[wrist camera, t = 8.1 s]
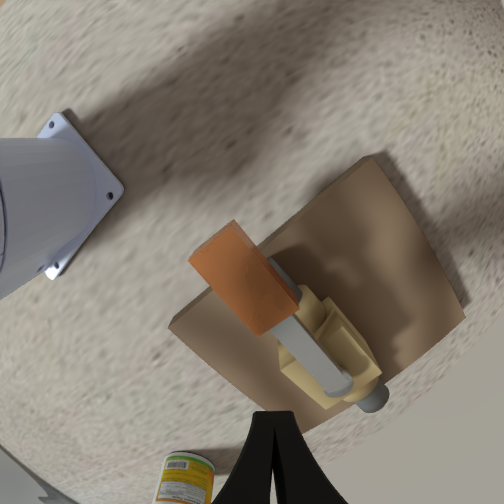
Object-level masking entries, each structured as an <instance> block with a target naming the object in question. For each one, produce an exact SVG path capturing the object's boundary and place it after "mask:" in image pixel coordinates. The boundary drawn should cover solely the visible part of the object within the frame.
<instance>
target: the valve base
mask: <svg viewBox="0 0 504 504" xmlns="http://www.w3.org/2000/svg"><path fill="white" fill-rule="evenodd" d="M257 248H258V249H259V250H260V251H261V253H262V254H263V255H264V256H265V258H266V259H267V260H268V261H269V262H270V264H271V265H272V266H273V267H274V269H275V270H276V271H277V272H278V273H279V275H280V276H281V277H282V278H283V280H284V281H285V282H286V283H287V285H288V286H289V287H290V288H291V289H292V291H293V292H294V293H295V294H296V297H297V301H298V304H299V308H300V309H299V310H298V311H297V312H295V314H296V315H297V316H298V317H299V319H300V320H301V321H302V322H303V323H304V325H305V326H306V327H307V328H308V329H309V331H310V332H311V333H312V334H313V335H314V336H315V338H316V339H317V340H318V341H319V342H320V344H321V345H322V346H323V347H324V348H325V349H326V351H327V352H328V353H329V354H330V355H331V357H332V358H333V359H334V360H335V361H336V362H337V364H338V365H343V366H345V367H347V368H348V369H349V372H350V374H351V377H352V380H353V388H352V390H351V391H350V392H349V393H348V394H346V395H344V396H342V397H339V398H331V397H328V396H326V395H325V394H324V391H323V387H322V386H321V385H320V384H319V383H318V382H317V381H316V380H315V379H314V378H313V376H312V375H311V374H310V373H309V372H308V371H307V370H306V369H305V368H304V367H303V366H302V365H301V364H300V363H299V362H298V361H297V360H296V358H295V357H294V356H293V355H292V354H291V353H290V352H289V351H288V350H287V349H286V348H285V347H284V346H283V345H282V343H281V342H280V341H279V340H278V339H277V338H276V337H275V336H274V335H273V334H272V333H271V331H270V330H268V331H267V332H265V333H264V334H262V335H260V336H259V337H257V336H256V335H255V334H254V333H253V332H252V331H251V330H250V329H249V328H248V327H247V326H246V325H245V324H244V323H243V322H242V320H241V319H240V318H239V317H238V316H237V315H236V314H235V313H234V312H233V311H232V310H231V308H230V307H229V306H228V305H227V304H226V303H225V302H224V301H223V300H222V299H221V297H220V296H219V295H218V294H217V293H216V292H215V291H214V290H213V289H212V287H211V286H209V287H208V288H207V289H206V290H205V291H203V292H202V293H201V294H200V295H199V296H197V297H196V298H195V299H194V300H193V301H192V302H190V303H189V304H188V305H187V306H186V307H184V308H183V309H182V310H181V311H180V312H178V313H177V314H176V315H175V316H174V317H173V319H172V320H171V322H170V324H169V326H168V329H169V330H171V331H172V332H173V333H174V334H175V335H176V336H177V337H178V338H179V339H180V340H181V341H182V342H184V343H185V344H186V345H187V346H188V347H189V348H190V349H191V350H192V351H194V352H195V353H196V354H197V355H198V356H199V357H200V358H201V359H203V360H204V361H205V362H206V363H207V364H208V365H210V366H211V367H212V368H213V369H214V370H215V371H217V372H218V373H219V374H220V375H221V376H223V377H224V378H225V379H226V380H227V381H229V382H230V383H231V384H232V385H234V386H235V387H236V388H237V389H239V390H240V391H241V392H242V393H244V394H245V395H246V396H247V397H249V398H250V399H251V400H253V401H254V402H255V403H256V404H258V405H259V406H260V407H262V408H263V409H264V410H266V411H288V410H291V411H292V412H294V416H295V419H296V422H297V424H298V427H299V429H300V432H301V434H303V433H305V432H307V431H309V430H310V429H312V428H314V427H316V426H318V425H320V424H321V423H323V422H325V421H327V420H328V419H330V418H332V417H334V416H335V415H337V414H339V413H340V412H342V411H344V410H345V409H347V408H349V407H350V406H352V405H353V404H356V405H357V406H358V407H360V408H361V409H362V410H363V411H364V412H366V413H373V412H376V411H378V410H380V409H381V408H382V407H383V406H384V405H385V404H386V403H387V401H388V398H389V390H388V388H387V387H386V386H385V385H384V384H385V383H386V382H388V381H389V380H391V379H392V378H393V377H395V376H396V375H397V374H399V373H400V372H401V371H403V370H404V369H405V368H407V367H408V366H409V365H411V364H412V363H413V362H415V361H416V360H417V359H418V358H420V357H421V356H422V355H423V354H425V353H426V352H427V351H428V350H429V349H431V348H432V347H433V346H434V345H435V344H437V343H438V342H439V341H440V340H441V339H443V338H444V337H445V336H446V335H447V334H448V333H449V332H450V331H452V330H453V329H454V328H455V327H456V326H457V325H458V324H459V323H460V322H461V321H462V320H464V319H465V318H466V317H465V314H464V312H463V310H462V308H461V305H460V303H459V301H458V299H457V297H456V295H455V293H454V291H453V289H452V287H451V285H450V282H449V280H448V279H447V277H446V275H445V273H444V271H443V269H442V267H441V265H440V263H439V261H438V259H437V258H436V256H435V254H434V252H433V250H432V248H431V247H430V245H429V243H428V241H427V240H426V238H425V236H424V234H423V233H422V231H421V229H420V228H419V226H418V224H417V223H416V221H415V219H414V218H413V216H412V215H411V213H410V211H409V210H408V208H407V207H406V205H405V204H404V202H403V200H402V199H401V197H400V196H399V194H398V193H397V191H396V190H395V188H394V187H393V185H392V184H391V182H390V181H389V180H388V178H387V177H386V175H385V174H384V172H383V171H382V170H381V168H380V167H379V165H378V164H377V163H376V161H375V160H374V159H373V157H363V158H361V159H360V160H359V161H358V162H357V163H355V164H354V165H353V166H352V167H351V168H349V169H348V170H347V171H346V172H345V173H344V174H342V175H341V176H340V177H339V178H338V179H336V180H335V181H334V182H333V183H332V184H330V185H329V186H328V187H327V188H326V189H325V190H323V191H322V192H321V193H320V194H319V195H317V196H316V197H315V198H314V199H313V200H311V201H310V202H309V203H308V204H307V205H305V206H304V207H303V208H302V209H301V210H300V211H298V212H297V213H296V214H295V215H294V216H292V217H291V218H290V219H289V220H288V221H286V222H285V223H284V224H283V225H282V226H281V227H279V228H278V229H277V230H276V231H275V232H273V233H272V234H271V235H270V236H269V237H267V238H266V239H265V240H264V241H263V242H262V243H260V244H259V245H258V246H257Z"/></svg>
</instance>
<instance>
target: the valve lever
mask: <svg viewBox="0 0 504 504" xmlns="http://www.w3.org/2000/svg"><path fill="white" fill-rule="evenodd" d="M188 261H189V262H190V264H191V265H192V266H193V267H194V268H195V269H196V271H197V272H198V273H199V274H200V275H201V276H202V277H203V278H204V280H205V281H206V282H207V283H208V284H209V285H210V286H211V287H212V289H213V290H214V291H215V292H216V293H217V294H218V295H219V296H220V297H221V299H222V300H223V301H224V302H225V303H226V304H227V305H228V306H229V307H230V308H231V310H232V311H233V312H234V313H235V314H236V315H237V316H238V317H239V318H240V319H241V320H242V322H243V323H244V324H245V325H246V326H247V327H248V328H249V329H250V330H251V331H252V332H253V333H254V334H255V335H256V336H257V337H259V336H260V335H262V334H264V333H265V332H267V331H268V330H270V331H271V333H272V334H273V335H274V336H275V337H276V338H277V339H278V340H279V341H280V342H281V343H282V345H283V346H284V347H285V348H286V349H287V350H288V351H289V352H290V353H291V354H292V355H293V356H294V357H295V358H296V360H297V361H298V362H299V363H300V364H301V365H302V366H303V367H304V368H305V369H306V370H307V371H308V372H309V373H310V374H311V375H312V376H313V378H314V379H315V380H316V381H317V382H318V383H319V384H320V385H321V386H322V387H323V391H324V394H325V395H326V396H328V397H331V398H339V397H342V396H344V395H346V394H348V393H349V392H350V391H351V390H352V388H353V380H352V377H351V374H350V372H349V369H348V368H347V367H345V366H343V365H338V364H337V362H336V361H335V360H334V359H333V358H332V357H331V355H330V354H329V353H328V352H327V351H326V349H325V348H324V347H323V346H322V345H321V344H320V342H319V341H318V340H317V339H316V338H315V336H314V335H313V334H312V333H311V332H310V331H309V329H308V328H307V327H306V326H305V325H304V323H303V322H302V321H301V320H300V319H299V317H298V316H297V315H296V314H295V312H297V311H298V310H299V309H300V308H299V304H298V301H297V297H296V294H295V293H294V292H293V291H292V289H291V288H290V287H289V286H288V285H287V283H286V282H285V281H284V280H283V278H282V277H281V276H280V275H279V273H278V272H277V271H276V270H275V269H274V267H273V266H272V265H271V264H270V262H269V261H268V260H267V259H266V258H265V256H264V255H263V254H262V253H261V251H260V250H259V249H258V248H257V247H256V245H255V244H254V243H253V242H252V240H251V239H250V238H249V237H248V236H247V234H246V233H245V232H244V231H243V229H242V228H241V227H240V226H239V225H238V223H237V222H236V221H235V220H234V219H233V220H232V221H231V222H229V223H228V224H227V225H225V226H224V227H223V228H222V229H220V230H219V231H218V232H217V233H215V234H214V235H213V236H212V237H211V238H209V239H208V240H207V241H206V242H204V243H203V244H202V245H201V246H199V247H198V248H197V249H196V250H195V251H194V252H193V254H192V255H191V256H190V258H189V259H188Z"/></svg>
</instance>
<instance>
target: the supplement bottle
mask: <svg viewBox="0 0 504 504" xmlns="http://www.w3.org/2000/svg"><path fill="white" fill-rule="evenodd" d="M214 473H215V469H214V466H213V465H212V463H211V462H210V461H209V460H207V459H205V458H204V457H201V456H199V455H196V454H192V453H187V452H174V453H170V454H168V455H167V456H166V457H165V458H164V461H163V464H162V468H161V471H160V475H159V479H158V482H157V486H156V490H155V493H154V497H153V500H152V504H211V497H212V490H213V482H214Z"/></svg>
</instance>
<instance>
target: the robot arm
mask: <svg viewBox="0 0 504 504" xmlns="http://www.w3.org/2000/svg"><path fill="white" fill-rule="evenodd" d="M53 122H54V127H53V128H52V124H53ZM110 192H112V193H113V199H110V197H109V193H110ZM123 193H124V187H123V185H122V184H121V182H120V181H119V180H118V179H117V178H116V177H115V176H114V174H113V173H112V172H111V171H110V170H109V169H108V167H107V166H106V165H105V164H104V163H103V162H102V160H101V159H100V158H99V157H98V156H97V155H96V153H95V152H94V151H93V150H92V149H91V148H90V146H89V145H88V144H87V143H86V142H85V140H84V139H83V138H82V137H81V136H80V134H79V133H78V132H77V131H76V129H75V128H74V127H73V126H72V125H71V123H70V122H69V121H68V120H67V118H66V117H65V116H64V115H63V114H62V113H60V112H56V113H54V114H53V115H52V117H51V118H50V119H49V121H48V122H47V124H46V125H45V127H44V128H43V129H42V131H41V132H40V134H39V135H38V137H37V138H0V300H1V299H3V298H4V297H6V296H7V295H9V294H10V293H12V292H13V291H15V290H16V289H18V288H19V287H21V286H22V285H24V284H25V283H27V282H28V281H30V280H32V279H33V278H35V277H36V276H38V275H39V274H41V273H43V272H45V274H46V275H47V276H48V277H49V278H50V279H51V280H54V279H56V278H57V277H58V276H59V274H60V273H61V272H62V270H63V269H64V267H65V266H66V265H67V263H68V262H69V261H70V259H71V258H72V256H73V255H74V254H75V252H76V251H77V250H78V248H79V247H80V246H81V245H82V243H83V242H84V241H85V239H86V238H87V237H88V236H89V234H90V233H91V232H92V230H93V229H94V228H95V227H96V226H97V224H98V223H99V222H100V221H101V219H102V218H103V217H104V216H105V215H106V213H107V212H108V211H109V210H110V209H111V207H112V206H113V205H114V204H115V203H116V202H117V200H118V199H119V198H120V197H121V196H122V194H123ZM57 263H58V264H59V266H58V265H57ZM272 469H273V474H274V481H275V489H276V496H277V503H278V504H348V503H347V502H346V501H345V500H344V498H343V497H342V496H341V495H340V494H339V493H338V491H337V490H336V489H335V488H334V486H333V485H332V484H331V483H330V481H329V480H328V479H327V477H326V476H325V474H324V473H323V471H322V470H321V468H320V467H319V465H318V463H317V462H316V460H315V459H314V457H313V455H312V453H311V451H310V450H309V448H308V446H307V444H306V442H305V440H304V438H303V436H302V434H301V432H300V429H299V427H298V424H297V422H296V419H295V416H294V412H292V411H291V410H288V411H256V412H254V413H253V417H252V422H251V427H250V430H249V433H248V436H247V439H246V442H245V444H244V447H243V449H242V452H241V454H240V456H239V458H238V461H237V462H236V464H235V466H234V468H233V470H232V472H231V474H230V476H229V478H228V479H227V481H226V483H225V484H224V486H223V487H222V489H221V491H220V492H219V493H218V495H217V496H216V498H215V499H214V501H213V502H212V503H211V504H270V491H271V480H272Z"/></svg>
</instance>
